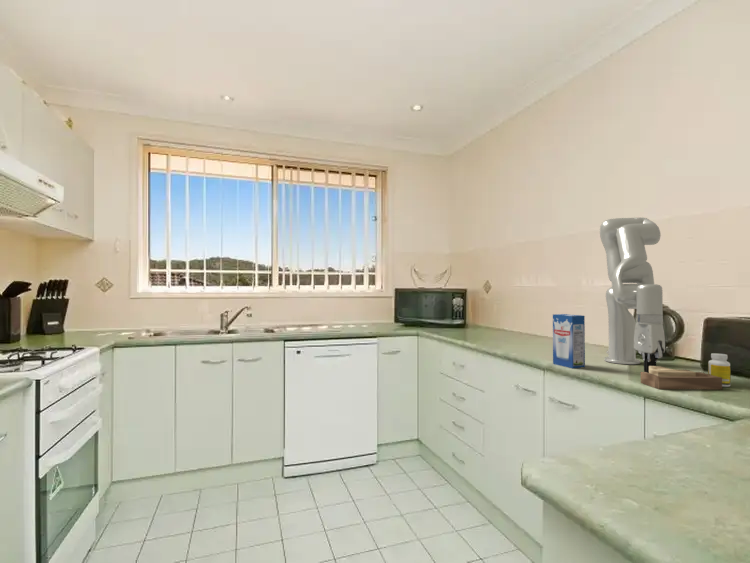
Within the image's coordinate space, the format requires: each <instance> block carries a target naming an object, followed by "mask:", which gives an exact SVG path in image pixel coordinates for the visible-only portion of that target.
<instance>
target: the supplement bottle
mask: <svg viewBox="0 0 750 563" xmlns="http://www.w3.org/2000/svg"><path fill="white" fill-rule="evenodd" d="M710 358H711V359H710V360H708V362H707V371H708V372H707V374H709V375H713V376H717V377H721V378H722V388H729V387H731V362H729V361H727V360H728V359H729V358H728V354H725V353H716V352H715V353H714V352H713V353H711V354H710Z"/></svg>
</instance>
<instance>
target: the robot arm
mask: <svg viewBox="0 0 750 563" xmlns="http://www.w3.org/2000/svg"><path fill="white" fill-rule="evenodd" d="M599 227H600V228H599V237H600V241H601V243H602V245H603V247H604V251H605V255H606V256H605V257H606V267H607V275H608V280H609V281H610V282H611V287H609V288H607V290H606V292H605V301H606V307H607V312H608V313H607V316H608V317H607V318H608V349H607V350H606V354H608V356H605V357H604V361H605V362H607V363H613V364H617V365H618V364H621V365H640V364H641V360H640V359H638V358H636V356H637V355H636V354H637V352H638V354H640V355H641V356H642V361H643V372H647V373H649V366H657V362H658V359H662V358H663V354H664V353H665V351H666V338H665V337H666V336H665V329H664V325H663V324H664V319H663V318H664V316H663V315H664V314H663V312H664V311H663V310H664V308H663V305H664V304H663V296H664V295H663V287H662V285H661V284H656V283H655V279H654V278H655V277H654V270H653V266H652V265H651V264H650V263H649V262H648V255H647V251H646V246H651V245H652V246H653V245H657V244H658V243H659V241H660V239H661V236H662V235H661V230H660V228H659V226H658V224H657V223H655V222H654V221H652V220H650V219H649V218H648V217H616V218H607V219H605V220H603V222H601V224H600V226H599ZM629 310H636V319H635V317H634V315H633V314H632V313H631V312H630V311H629ZM636 351H637V352H636Z"/></svg>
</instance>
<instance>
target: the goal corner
mask: <svg viewBox="0 0 750 563" xmlns="http://www.w3.org/2000/svg"><path fill="white" fill-rule="evenodd" d="M695 372H696V377H663V376H657V375H654V374H650V373H647V372H644V371H641V372H640V384H643V385H646V386H649V387H652V388H653V389H657V390H723V387H722V378H721V377H717V376H713V375H709V374H708V373H706V372H705V373H704V372H702V371H701V372H700V371H695Z"/></svg>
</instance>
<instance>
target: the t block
mask: <svg viewBox="0 0 750 563" xmlns="http://www.w3.org/2000/svg"><path fill="white" fill-rule="evenodd" d="M696 372H697V371H692V370H690V369H672V368H669V367H666V366H662V365H656V366H649V373H650V374H654V375H657V376H663V377H696Z"/></svg>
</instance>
